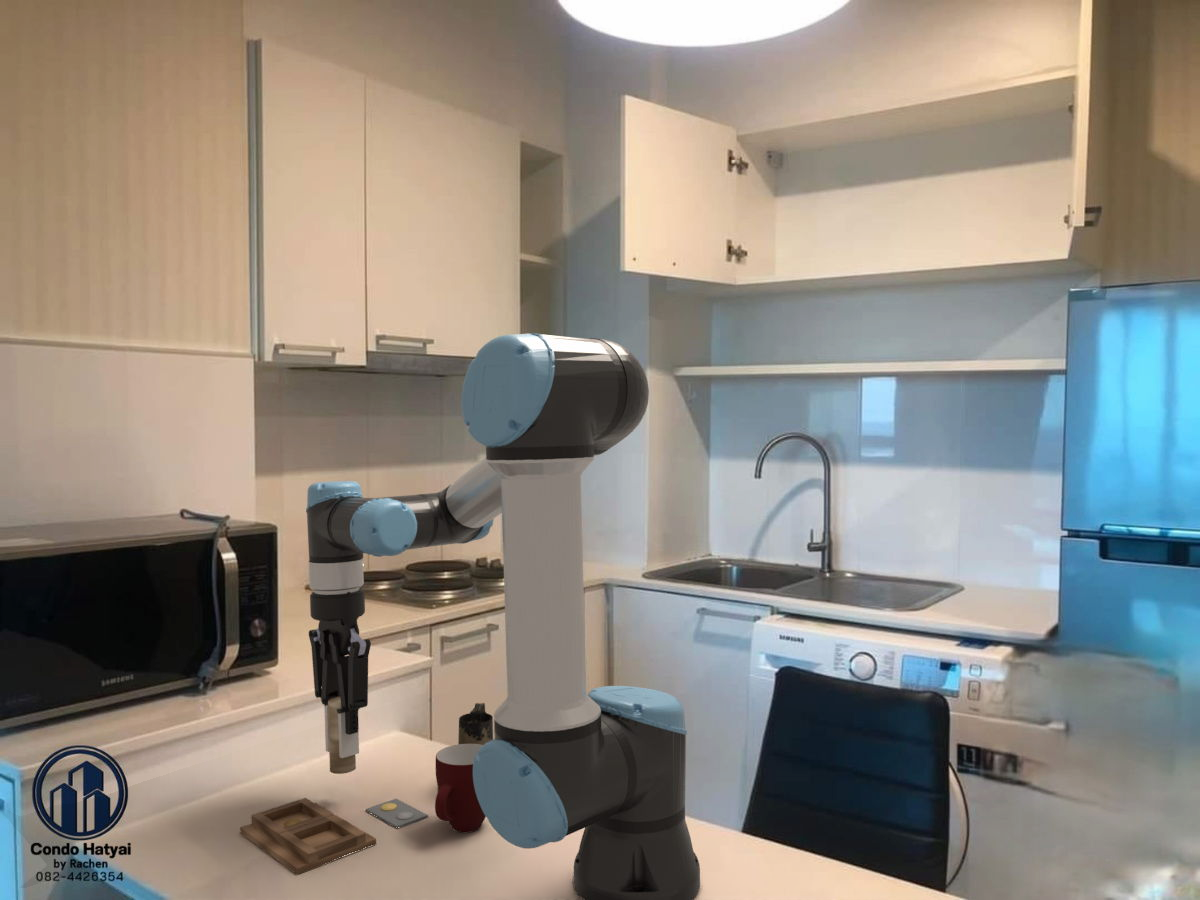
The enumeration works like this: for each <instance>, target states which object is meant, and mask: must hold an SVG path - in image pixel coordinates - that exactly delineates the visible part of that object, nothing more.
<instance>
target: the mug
mask: <svg viewBox="0 0 1200 900" xmlns="http://www.w3.org/2000/svg"><path fill="white" fill-rule="evenodd" d="M482 746H483V745H481V744H459V745H458V744H453V745H450V746H446V747H443V748H442V749H440V750H439V751H438V752H436V755H435V778H436V785H437V790H438V791H437V793H436V797H435V801H434V811H435V815H436V818H437V819H438V820H440V821H443V822H447V823H448V824H449V826H450V827H451V830H454V831H456V832H457V831H458V833H471V831H472V832H474V831H478V830H479V829H480V828H481V826H482V825H483V823H484V821H485V818H487V817H486V816H485V815H484V813H483V811H482V809H481V806H480V804H479V801H478V799H477V796H476V792H475V788H474V782H473V763H474V759H475V756H476V755H477V754H478V751H479V749H480V748H481V747H482ZM478 828H479V829H478Z"/></svg>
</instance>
